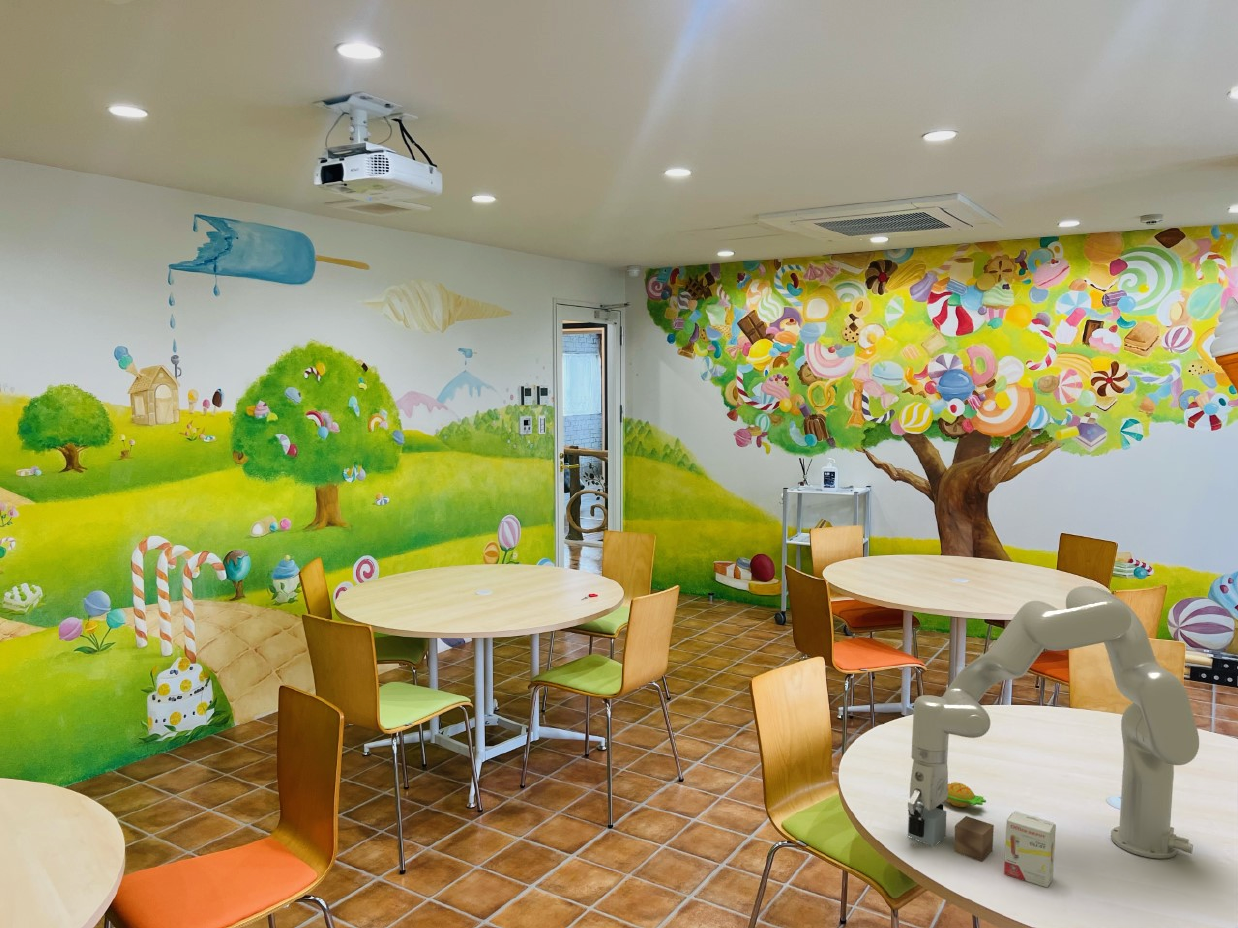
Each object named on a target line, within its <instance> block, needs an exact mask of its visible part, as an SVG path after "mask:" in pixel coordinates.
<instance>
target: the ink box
mask: <svg viewBox="0 0 1238 928" xmlns="http://www.w3.org/2000/svg"><path fill="white" fill-rule="evenodd" d="M1005 825H1006V828H1005V844H1004V845H1005V848H1004V870H1003V874H1004V875H1006V876H1009V877H1013V878H1016V879H1018V880H1022V881H1024V882H1029V883H1031V884H1034V885H1037V886H1041V887H1044V888H1048V887H1049V886H1050V884H1051V882H1052V880H1053V878H1054V877H1053V876H1054V875H1053V874H1054V863H1055V861H1054V860H1055V848H1056V847H1055V846H1056V833H1057V832H1056V830H1057V825H1056V824H1055V822H1053V821H1050V820H1046V819H1042V818H1039V817H1036V816H1034V815H1033V816H1032V815H1029V814H1027V813H1022V812H1019V811H1012V813H1010V815H1009V816H1008V818H1007V819H1006V824H1005Z"/></svg>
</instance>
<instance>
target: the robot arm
mask: <svg viewBox="0 0 1238 928" xmlns="http://www.w3.org/2000/svg"><path fill="white" fill-rule="evenodd" d="M1099 644H1104V646H1105V649H1106V653H1107V655H1108V659H1109V663H1110V666H1111V670H1112V673H1113V674H1112V675H1113V677H1114V681H1115V685H1116V687H1117V690H1118V691H1119V692H1120V693H1121V695H1122V696H1124V697H1125V698H1126V699H1127V700H1129V701H1131V704H1129V705H1127V707H1126V708H1125V710H1124V711H1123V713H1122V716H1121V720H1120V722H1121V723H1120V726H1121V727H1120V730H1121V738H1122V746H1123V747H1122V748H1123V749H1122V750H1123V761H1122V763H1123V764H1122V775H1121V776H1122V778H1121V792H1120V793H1121V794H1120V812H1119V825H1118V826H1116V827H1114V828H1112V830H1111V833H1110V837H1111V840H1112V842H1113V843H1114V844H1115V845H1116V846H1118V848H1121V849H1123V850H1125V851H1126V852H1128V853H1132V854H1134V855H1137V856H1140V857H1144V858H1150V859H1159V860H1160V859H1161V860H1162V859H1170V858H1173V857H1175V856H1176V855H1177V854H1178V850H1180V851H1182V852H1185V853H1188V854H1193V849H1194V844H1192V843H1190V840H1189V838H1184V837H1180V836H1177V834H1175V827H1172V826H1171V821H1172V808H1173V807H1172V804H1173V791H1174V790H1173V789H1174V788H1173V787H1174V776H1175V771H1174V770H1175V767H1174V766H1183V765H1187V764H1189V763H1190V762H1192V761H1193V760H1194V759H1195V758H1196V756H1197V754H1198V752H1199V748H1200V736H1199V732H1198V728H1197V727H1198V726H1197V724H1196V720H1195V715H1194V711H1193V709H1192V706H1191V701H1190V699H1189V696H1188V693H1187V690H1186V688H1185V686H1184V685H1183V682H1182V681H1181V680H1180V679H1179V678H1178V677H1177V676H1176V675H1175V674H1173V673H1172V672H1171V671H1169V670H1168V669H1165V668H1164V667H1162V666H1161V665H1160V664H1159V663H1158V662H1157V659H1156V656H1155V654H1154V651H1153V647H1152V645H1151V642H1150V639H1149V636H1148V633H1147V631H1146V629H1145V626H1144V624H1143V622H1142V621H1141V619H1140V618H1139V616H1138V615H1137V614H1136V612H1135V611H1134V610H1133V609H1132V608H1131V607H1130V606H1129V605H1128V604H1127V603H1125V601H1123V599H1121V598H1119V597H1118V596H1116V595H1114V594H1113V593H1111V592H1109V591H1107V590H1105V589H1103V588H1102V589H1101V588H1098V587H1095V586H1090V585H1089V586H1086V585H1082V586H1076V587H1074V588H1073V589H1071V590H1070V591H1069V592H1068V594H1067V596H1066V598H1065V608H1064V609H1059V608H1056V607H1055V606H1053V605H1051V604H1049V603H1047V602H1044V601H1039V600H1031V601H1029V602H1026V603H1024V604H1023V605H1022V606H1021V607H1020V608H1019V610H1017V612H1016V613H1015V614H1014V616H1013V618H1012V619H1011V620H1010V622H1009V623H1008V624H1007V625H1006V627H1005V628H1004V629H1003V631H1002V632H1001V634H999V636H998V638H997V639H996V640H995V642H994V643H993V645H991V647H990V648H989V649H988V651H986V652H985V653H984V654H982V655H981V656H979V657H977V658H976V659H974V660H973V661H971V662H970V663H968V664H967V665H966V666H965V667H964V668H963V669H961V670H960V671H959V672H958V674H957V675H956V676H955V678H954V679H953V680H952V681H951V683H950V684H949V685H948V687H947V688H946V690H945V692H944V693H943V695H942V697H940V696H937V695H929V694H925V695H919V696H917V697H916V698H915V700H914V703H913V718H912V738H911V756H910V757H911V760H913V762H912V767H911V768H912V769H911V775H910V776H911V777H910V784H909V800H908V801H907V808H908V810H907V811H908V819H909V833H910V834H913V835H915V836H918V837H921V838H922V837H924V823H925V820H924V819H923V817H924V814H925V811H926V809H927V810H929V811H931V810H933V809H934V808H938V809H941V810H944V803H945V801H947V800H946V798H947V796H948V784H949V781H948V780H949V771H948V756H949V755H948V753H949V737H950V736H949V735H954V736H958V737H963V738H969V739H975V738H980V737H983V736H984V735H986V734H987V733H988V732H989V730H990V728H991V719H990V714H988V712H987V710H986V709H985V708H984V707H983V706H982V705H981V704H980V703H979V701H980V700H981V699H982V698H983V696H984V695H985V694H986V693H987V692H988V691H989V690H990V689H991V688H992V687H993V686H994V685H996V684H999V683H1000V682H1004V681H1008V680H1017V679H1019V678H1022V677H1024V676H1025V675H1026V673H1027V672H1028V671H1029V669H1030V668H1031V667H1032V665H1033V664H1034V663H1035V661H1036V660H1037V659H1038V657H1039V656H1040V655H1041V653H1043V651H1044V650H1045V649H1046V650H1048V651H1052V652H1053V651H1055V652H1057V651H1066V650H1067V651H1068V650H1074V649H1079V648H1083V647H1088V646H1092V645H1099ZM920 803H923V805H921V804H920ZM916 807H918V808H921V811H920V813H919V812H918V810H916ZM909 817H910V818H909Z"/></svg>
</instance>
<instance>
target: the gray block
mask: <svg viewBox="0 0 1238 928" xmlns="http://www.w3.org/2000/svg"><path fill="white" fill-rule="evenodd" d="M919 804H921V805H923V803H921V802H919ZM916 810H918V812H919V813H920V811H921V808H918V807H916ZM909 818H910V817H909V816H908V819H907V820H908V821H907V822H908V824H907V837H908V836H910V837H912V838H914V839H917V840H919V841H922V842H925V843H927V844H929V845H928V846H930V845H932V846H931V847H933V846H934V847H935V845H936V844H937V843H938V842H939V841H940V842H942V841H943V840H944V839H945V838H946V836H947V835H946V833H947V831H946V830H947V828H946V827H947V811H946V810H944V809H943V810H941V809H938V808H934V809H933V810H931V811H929V810H927V809H926V811H925V814H924V817H923V819H924V820H925V823H924V837H922V838H921V837H918V836H915V835H913V834H910V833H909ZM944 837H945V838H944ZM943 838H944V839H943ZM914 839H913V840H914ZM917 840H916V841H917ZM919 841H918V842H919ZM922 842H921V843H922ZM940 842H939V843H940ZM925 843H924V844H925ZM939 843H938V844H939ZM927 844H926V845H927ZM938 844H937V845H938ZM937 845H936V846H937Z"/></svg>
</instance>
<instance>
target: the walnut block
mask: <svg viewBox="0 0 1238 928" xmlns="http://www.w3.org/2000/svg"><path fill="white" fill-rule="evenodd" d="M994 827H995V824H992V823H988V822H986V821H982V820H980V819H978V818H977V819H976V818H974V817H971V816H968V815H965V816H964V817H963V818H962V819H961V820H960V821H959V822H957V823H956V824H955V825H954V841H953V842H954V845H953V853H956V854H959V855H962V856H964V855H965V856H964V857H968V858H970V859H973V860H975V861H978V862H981V863H982V862H984V861H985V860H986V859H987V858H988V857H989V856H990V855H991V854H992V853H993V849H994V833H995V832H994V829H995V828H994Z"/></svg>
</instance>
